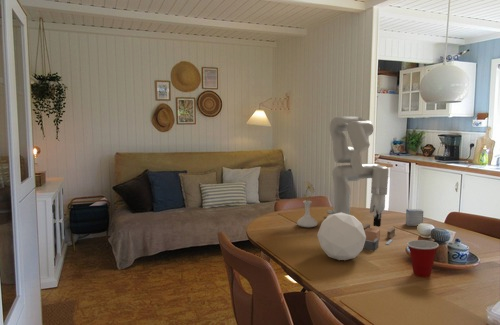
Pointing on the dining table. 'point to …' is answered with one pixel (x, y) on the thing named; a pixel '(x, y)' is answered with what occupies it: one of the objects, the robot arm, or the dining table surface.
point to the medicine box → (414, 217)
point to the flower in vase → (307, 210)
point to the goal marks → (389, 241)
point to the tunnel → (389, 233)
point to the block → (372, 234)
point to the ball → (341, 236)
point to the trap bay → (371, 245)
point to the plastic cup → (422, 256)
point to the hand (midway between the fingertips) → (376, 225)
